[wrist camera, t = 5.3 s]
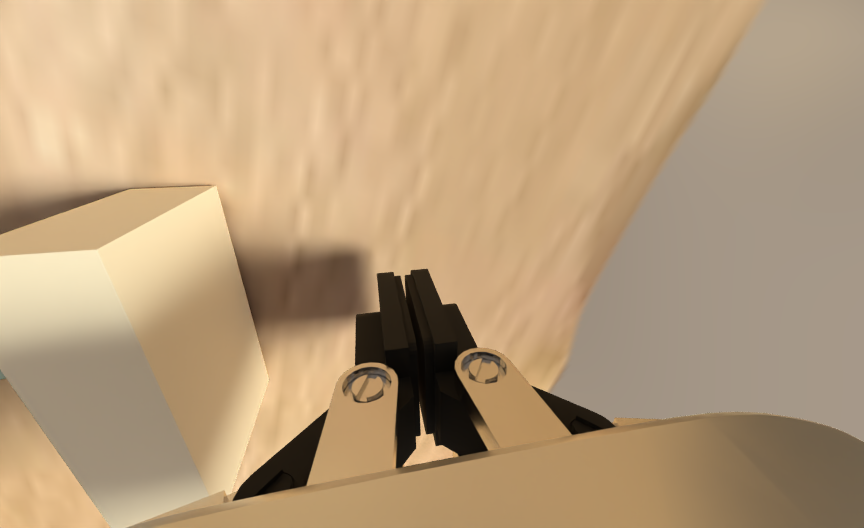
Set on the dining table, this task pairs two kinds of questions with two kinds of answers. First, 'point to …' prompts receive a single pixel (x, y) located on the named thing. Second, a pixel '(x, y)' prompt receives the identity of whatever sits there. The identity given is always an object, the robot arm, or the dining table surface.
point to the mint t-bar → (134, 346)
